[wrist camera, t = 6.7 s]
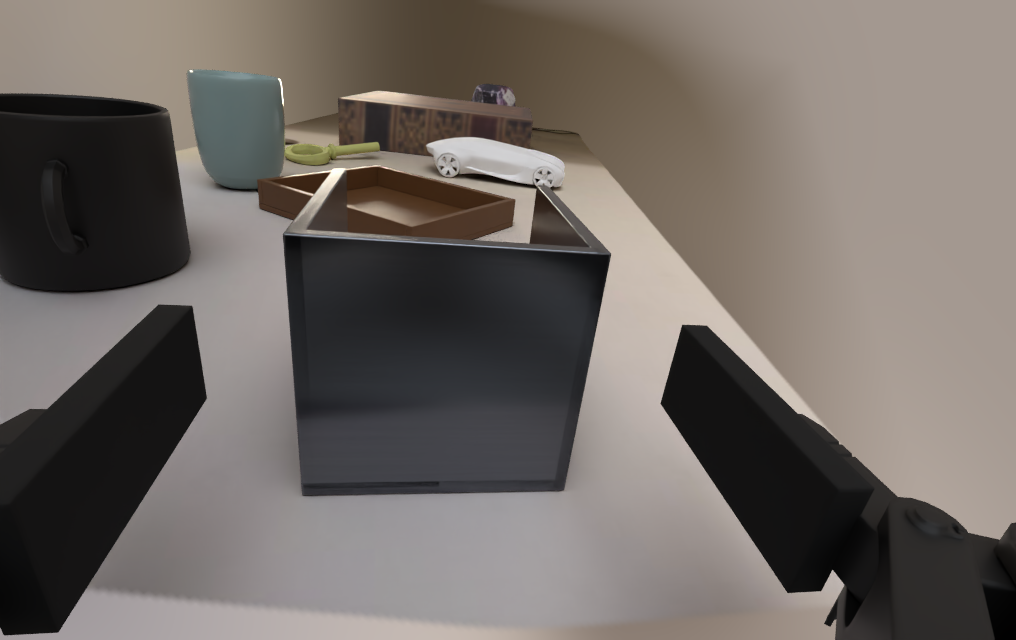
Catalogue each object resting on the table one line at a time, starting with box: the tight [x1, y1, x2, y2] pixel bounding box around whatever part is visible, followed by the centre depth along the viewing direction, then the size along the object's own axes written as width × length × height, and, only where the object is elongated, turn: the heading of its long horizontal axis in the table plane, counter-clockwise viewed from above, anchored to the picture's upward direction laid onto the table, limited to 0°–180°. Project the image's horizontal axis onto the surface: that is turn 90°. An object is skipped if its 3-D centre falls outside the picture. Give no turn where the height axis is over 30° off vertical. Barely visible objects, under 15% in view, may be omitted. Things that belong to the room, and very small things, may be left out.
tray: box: [257, 165, 515, 240], centre depth 48 cm, size 17×14×2 cm
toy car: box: [426, 137, 565, 188], centre depth 69 cm, size 18×8×4 cm, turn 84°
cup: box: [187, 70, 285, 189], centre depth 51 cm, size 8×8×10 cm
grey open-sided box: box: [283, 168, 611, 495], centre depth 21 cm, size 9×9×9 cm
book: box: [338, 91, 533, 158], centre depth 90 cm, size 24×28×6 cm
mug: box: [0, 94, 191, 291], centre depth 30 cm, size 9×12×9 cm
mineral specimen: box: [471, 84, 515, 107], centre depth 115 cm, size 10×10×10 cm
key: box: [285, 142, 380, 165], centre depth 70 cm, size 7×12×2 cm, turn 146°
